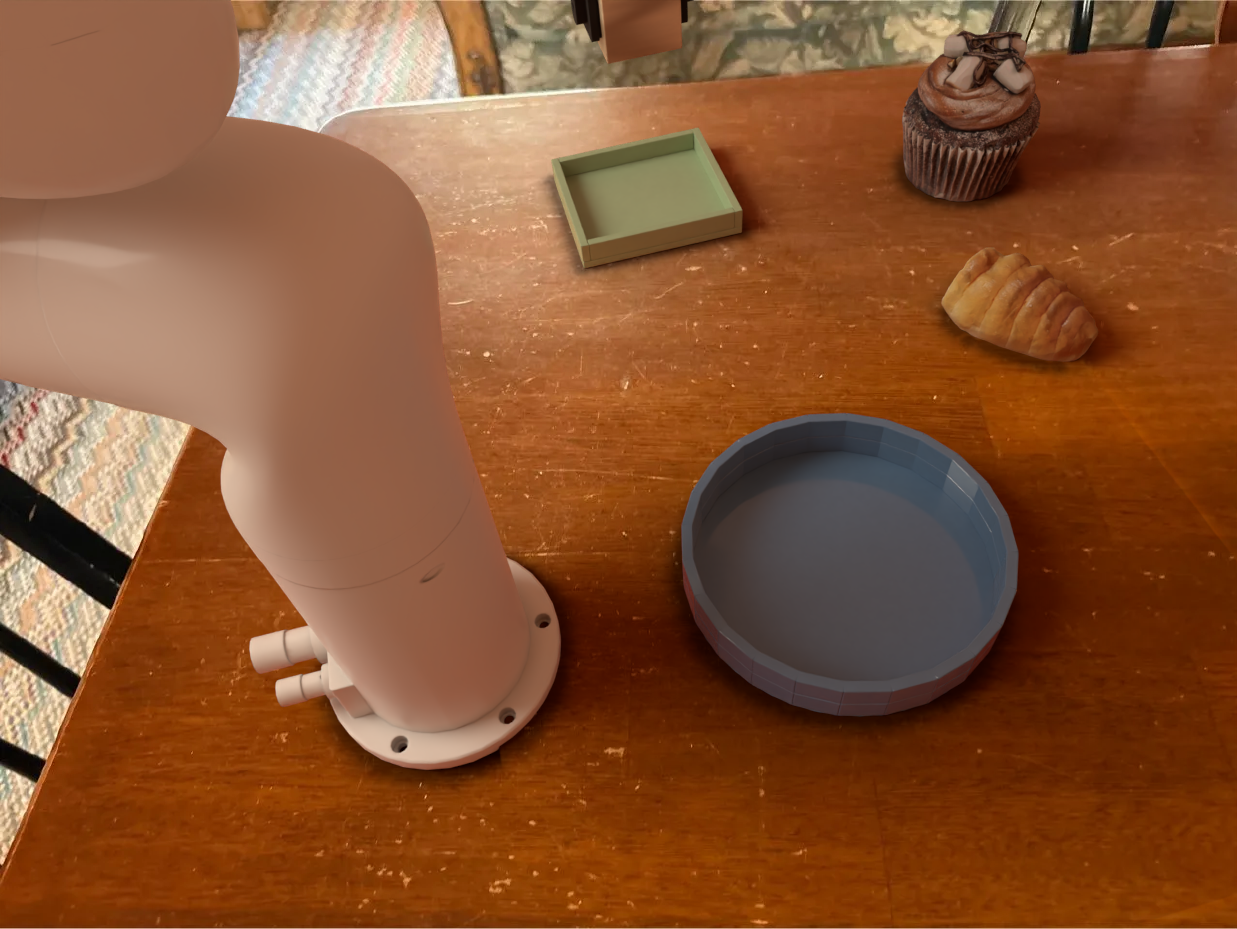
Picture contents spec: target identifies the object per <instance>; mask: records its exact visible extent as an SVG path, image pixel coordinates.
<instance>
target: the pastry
mask: <svg viewBox="0 0 1237 929" xmlns="http://www.w3.org/2000/svg"><path fill="white" fill-rule="evenodd" d="M1084 303H1085V302H1084V300H1083V299H1082V298H1081V297H1078V296H1077V295H1075V294H1073V293H1071V291H1070V289H1069V287H1068V284H1067V282H1065V281H1063V280H1059V279H1056V278H1055V276H1054V275H1053V273H1051V272H1050V270H1048V269H1047V267H1046V266H1045V265H1043V264H1037V265H1032V263H1031V260H1030V259H1029V258H1028V257H1027V256H1025V255H1024V254H1022V253H1021V252H1013V253H1011V254H1007V255H1005V254H1003V253H1001V252H1000V251H998V250H997V249H996V248H995V247H993V246H990V247H989V246H987V247H983V249H981V250H979V251H978V252H976V253H975V254H974V255H973V256H970V258H969V259H968V260H967V261H966V263H965V264H964V266H963V268H962V269H961V270H959V271H958V273H957V274H956V276H955V277H954V279H953V280H952V282H951V283H950V285H949V286H948V287H947V290H946V291H945V294H944V296H943V297H942V299H941V306H942V308H943V309H944V312H946V314H947V315H948V317H949V318H950V319H951V321H952V322H953V323H954V324H955V325H956V326H957V327H958V328H959V329H960V330H962V331H963V332H965V333H968V334H969V335H970V336H972V337H974V338H976V339H979V340H983V341H985V342H987V343H989V344H990V343H991V344H993V345H995V346H997V347H999V348H1002V349H1006V350H1010V351H1012V352H1015V353H1019V354H1023V355H1025V356H1029V357H1031V358H1034V359H1038V360H1042V361H1047V362H1063V363H1065V362H1074V361H1077V360H1078V359H1080V358H1081V357H1082V356H1083V355H1085V354H1086V353H1087V351H1089V349H1090V346H1092V344H1093V342H1094V341H1095V340H1096V338H1097V337H1098V335H1099V328H1098V327H1097V325H1096V319H1095V318H1094V317H1093V316H1092V314H1091V313H1090V311H1088V309H1087V308H1086V307H1085V304H1084Z"/></svg>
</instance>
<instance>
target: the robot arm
mask: <svg viewBox="0 0 1237 929" xmlns="http://www.w3.org/2000/svg"><path fill="white" fill-rule="evenodd" d="M694 1H695V0H681V24H685V23H688V22H689V4H688V3H691V2H694ZM570 6H571V7H570V8H571V14H572V18H573V20H574V23H575V25H576V26H579V25H583V26H584V29H585V30H586V33H587V35H588V37H589V40H590V42H591V43H596V42H598V41H600V38H602V34H601V24H600V15H599V5H598V0H570ZM240 57H241V56H240V36H239V31H238V26H237V21H236V16H235V10H234V6H233V3H232V0H0V380H1V381H6V382H9V383H13V384H18V385H22V386H26V387H30V388H34V389H39V390H44V391H49V392H52V393H58V394H62V395H66V396H67V395H68V396H72V397H77V398H80V399H86V400H91V401H95V402H100V403H105V404H109V405H114V406H116V407H118V408H123V409H126V410H129V411H130V410H131V411H135V412H139V413H144V414H149V415H152V416H153V415H154V416H157V417H158V416H159V417H162V418H166V419H169V420H174V421H177V422H180V423H183V424H185V425H189V426H190V427H193V428H196V429H197V430H200V431H202V432H204V433H206V434H208V435H209V436H211V438H214V439H216V440H217V441H218V442H220V443H221V444H222V445H223V447H225V448H226V450H225V453H224V456H223V459H222V463H221V467H220V491H221V495H222V499H223V502H224V505H225V508H226V511H227V513H228V515H229V517H230V519H231V521H232V523H233V525H234V527H235V528H236V529H237V532H238V533H239V534H240V536H241V537H242V539H243V540H244V541H245V543H246V544H247V546H248V547H249V548H250V549H251V551H252V552H253V554H254V555H255V556H256V558H257V559H258V560H259V561H260V563H262V565H263V566H264V567H265V569H266V570H267V571H268V573H269V574H270V576H271V577H272V578H273V580H274V581H275V582H276V584H277V585H278V586H279V587H280V589H281V590H282V592H283V593H284V594H285V596H286V597H287V598H288V600H289V601H290V603H291V604H292V605H293V607H294V608H295V609H296V611H297V612H298V613H299V615H300V616H301V617H302V619H303V620H304V621H305V623H306V624H307V625H304V626H300V627H295V628H293V629H283V630H277V631H274V632H270V633H266V634H262V635H258V636H254V637H251V638H250V641H249V655H250V660H251V664H252V666H253V667H252V668H253V669H254V670H255V672H256V673H257V674H259V675H262V674H266V673H269V672H273V671H277V670H281V669H285V668H289V667H293V666H294V665H295V664H299V663H301V662H305V661H309V660H313V659H317V661H318V663H319V664H322V665H321V667H320V670H317V671H313V672H309V673H305V674H303V673H300V674H297V675H293V676H288V677H285V678H281V679H278V680H276V682H275V687H274V688H275V697H276V699H277V702H278V704H279V706H280V707H282V708H285V707H289V706H294V705H297V704H301V703H304V702H308V701H309V700H311V699H315V698H318V697H323V696H326V698H327V699H328V700H329V703H330V705H331V707H332V709H333V711H334V714H335V716H336V718H337V720H338V722H339V723H340V724H341V725H342V727H343V728H344V729H345V731H346V732H347V733H348V735H349V736H350V737H351V738H352V739H353V740H354V741H355V742H356V743H357V744H358V745H359V746H360V747H361V748H362V749H364V751H367V752H368V753H370V754H372V755H373V756H375V757H377V758H378V759H380V760H381V761H383V762H386V763H390V764H393V765H396V766H399V767H402V768H407V769H416V770H424V771H429V770H441V769H452V768H455V767H458V766H463V765H467V764H469V763H470V764H471V763H474V762H476V761H478V760H480V759H482V758H484V757H487V756H489V755H490V754H493V753H495V752H497V751H498V750H500V746H502V745H504V744H505V743H507V742H508V741H509V740H511V739H512V738H514V736H516V735H517V734H518V733H519V732H520V731H522V729H523V728H524V727H525V726H526V725H527V724H528V723H529V722H530V721H531V720H532V719H533V718H534V717H535V715H536V714H537V712H538V711H539V709H541V707H542V705H543V704H544V702H545V701H546V699H547V697H548V695H549V693H550V691H551V689H552V687H553V684H554V682H555V680H556V676H557V673H558V668H559V666H560V660H561V651H562V650H561V648H562V634H561V629H560V623H559V619H558V615H557V612H556V609H555V606H554V603H553V601H552V600H551V598H550V596H549V594H548V592H547V590H546V588H545V587H544V586H543V584H542V583H541V582H540V581H539V580H538V579H537V578H536V576H535V575H534V573H532V572H531V571H530V570H528V569H527V568H526V567H524V566H522V565H521V564H520V563H519V562H518V561H515V560H513V559H511V558H510V557H507V554H506V552H505V549H504V546H503V544H502V541H501V537H500V535H499V532H498V528H497V525H496V522H495V520H494V516H493V514H492V511H491V508H490V505H489V502H488V498H487V496H486V493H485V489H484V487H483V484H482V481H481V479H480V475H479V472H478V470H477V467H476V463H475V460H474V458H473V455H472V451H471V449H470V446H469V442H468V440H467V437H466V433H465V431H464V428H463V424H462V421H461V418H460V415H459V412H458V408H457V405H456V401H455V398H454V394H453V390H452V386H451V382H450V378H449V373H448V368H447V361H446V356H445V349H444V343H443V342H444V340H443V332H442V331H443V330H442V320H441V319H442V318H441V306H440V305H441V303H440V290H439V289H440V288H439V275H438V274H439V272H438V265H437V264H438V263H437V258H436V249H435V244H434V241H433V237H432V232H431V227H430V225H429V222H428V218H427V216H426V213H425V211H424V209H423V207H422V205H421V203H420V202H419V200H418V198H417V196H416V195H415V193H414V192H413V191H412V190H411V188H410V187H409V185H408V184H407V182H405V181H404V180H403V179H402V178H401V177H400V176H399V175H398V173H396V172H395V171H394V170H393V169H391V168H390V167H389V166H388V165H386V164H385V163H384V162H383V161H381V160H379V159H378V158H377V157H376V156H374V155H372V154H370V153H368V152H367V151H365V150H363V149H361V148H360V147H358V146H355V145H353V144H352V143H349V142H347V141H345V140H342V139H339V138H336V137H335V136H331V135H329V134H325V133H320V132H317V131H313V130H310V129H306V128H303V127H300V126H296V125H292V124H291V125H290V124H285V123H280V122H275V121H274V122H273V121H268V120H262V119H256V118H255V119H254V118H246V117H238V116H229V115H228V114H229V111H230V109H231V107H232V105H233V103H234V101H235V97H236V93H237V90H238V85H239V78H240V69H241V61H240ZM543 623H547V624H548V625H547V626H546V627H541V624H543ZM509 716H510V717H512V718H513V720H512V722H509V723H506V722H505V719H506V718H507V717H509ZM404 747H406V748H405V749H404V750H403V751H401V750H402V748H404Z"/></svg>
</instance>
